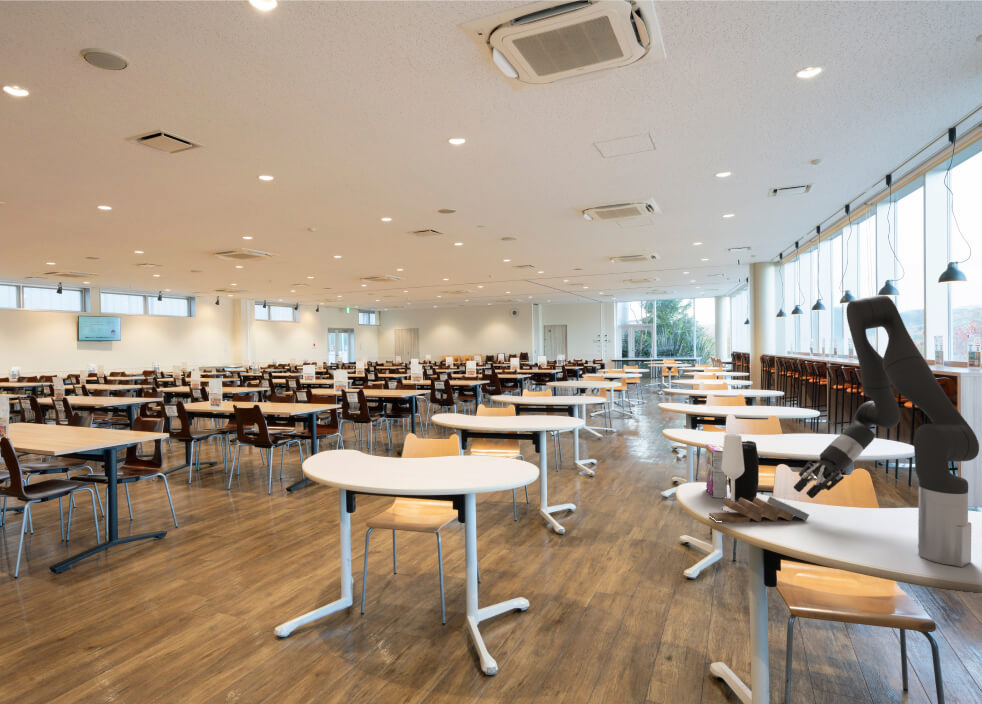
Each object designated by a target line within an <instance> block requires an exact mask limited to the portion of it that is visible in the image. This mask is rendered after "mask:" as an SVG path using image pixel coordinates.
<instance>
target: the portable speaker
mask: <svg viewBox="0 0 982 704" xmlns="http://www.w3.org/2000/svg"><path fill="white" fill-rule="evenodd" d="M742 450H743V460H744V472H743V474H742V475H741V476H740V477H738V478H737V479H735V500H738V501H739V499H740V497H741V498H743V499H746V500H748V501H750V502H753V500H754V498H755V497H757V495H758V489H759V483H760V482H759V478H760V477H759V474H760V473H759V472H760V471H759V470H760V469H759V467H760V466H759V463H760V461H759V454H758V448H757V443H756V442H755V441H752V440H746V441H742ZM727 481H728V486H729V487H728V488H729V493H730V494H731V479H730V478H728V477H727Z"/></svg>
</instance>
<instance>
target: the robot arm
mask: <svg viewBox="0 0 982 704" xmlns="http://www.w3.org/2000/svg"><path fill="white" fill-rule="evenodd" d="M847 303H848V304H847V306H846V320H847V325H848V327H849V332H850V334H851V335H850V336H851V339H852V343H853V346H854V349H855V352H856V356H857V360H858V365H859V370H860V380H861V388H862V393H863V394H864V395H865V396H866V397H868V398H870V399H871V400H869V401H866V402H863V403H862V404H861V405H860V406H859V407H858V409H857V410H856V411H855V414H854V416H853V418H852V420H851V422H850V424H849V426H848V427H847V428H846V429H845V430H844V431H843V432H842V433H841V434H840V435H839V436H837V437H836V438H834V440H833V441H832V442H831V443H830V444H829V445H827V447H826V448H825V449H824V450H823V451H822V452H821V453H820V454H819V460H818V461H816V462H815V463H813V462H812V461H811V460H809V461H807V463H806V464H805V465H804V466H803V468H802V469H801V471H800V472H798V476H799V477H800V479H799V480H798V481H797V483H795V485H794V486H793V489H794V490H795V491H796V492H798V493H801V492H802V491H803V490H804V488H805V487H807V486H808V484H809V483H811V482H813V481H816V482H815V484H813V485H812V486H811V487H810V488H809V489H808V490H807V491H806V495H807V496H808V497H809V498H811V499H814V498H815V497H816V496H817V495H819V493H820V492H821V491H824V490H826V491H830V490H831V489H833V488H834V487H835V486H836V485H838V484H839V483H840V482H842V481H843V480H844V477H845V476H844V475H843V474H842V473H844V472H845V471H846V470H847V469H848V468H850V466H851V465H852V464H853V463H854V462H855V461H856V460H857V459H858V458H859V456H861V454H862V453H863V451H864V450H865V449H866V448H868V446H870V444H871V443H872V442H873V441H874V439H875V437H876V436H875V433H874V431H873V430H872V429H871V426H876V427H880V428H884V429H893V428H895V427H897V426H898V425H899V423H900V421H901V417H902V416H901V415H902V414H901V409H900V406H899V404H898V401H897V399H896V396H895V394H894V392H893V390H892V387H893V388H894V390H895V391H896V392H897V393H899V394H900V395H901V396H902V397H903V398H904V399H906V400H908V401H909V402H910V403H912V404H913V405H914V406H915V407H917V408H919V409H920V410H921V411H922V412H923V413H924V414H925V415H926V416H927V417H928V418H929V419H930V421H931V422H932V423H924V424H922V425H920V426H919V427H918V428H917V429H916V431H915V433H914V438H913V447H914V448H913V449H914V463H915V464H914V467H915V468H914V469H915V473H916V476H917V478H918V518H917V519H918V521H917V522H918V523H917V525H918V533H917V534H918V535H917V536H918V537H917V539H918V540H917V541H918V542H917V543H918V544H917V549H918V550H917V551H918V553H917V554H918V556H920V557H922V558H924V559H926V560H929V561H931V562H935V563H938V564H942V565H943V564H944V565H948V566H949V565H950V566H956V567H958V568H959V567H960V568H963V567H964V566H966V565H967V564H969V563H971V562H972V522H969V482H968V480H967V479H965V478H963V477H961V476H958V475H956V474H953V473H952V472H951V471H950V467H949V466H950V465H949V463H950V462H956V463H957V462H969V461H972V460H974V459H975V458H977V456H978V454H979V452H980V443H979V440H978V438H977V435H976V434H975V431H974V430H973V429H972V427H971V426H970V424H969V423H968V422H967V421H966V419H965V418H964V417H963V416H962V414H961V413H960V412H959V410H958V409H957V407H956V406H955V405H954V404H953V403H952V401H951V400H950V399H949V397H948V395H947V394H946V392H945V391H944V389H943V387H942V385H941V384H940V383H939V381H938V380H937V378H936V376H935V375H934V373H933V371H932V369H931V368H930V366H929V364H928V362H927V361H926V359H925V357H924V356H923V354H922V353H921V352H920V350H919V349H918V347H917V346H916V344H915V341H914V340H913V339H912V337H911V335H910V333H909V332H908V329H907V327H906V326H905V323H904V321H903V319H902V316H901V315H900V314H901V313H900V311H899V310H898V308H897V306H896V304H895V303H894V301H893V300H892V298H891V297H889V296H888V295H885V294H879V295H878V294H877V295H874V296H868V297H859V298H856V299H853V300H850V301H849V302H847ZM875 328H883V329H884V330H885V331H886V335H887V338H888V342H887V345H886V348H885V352H884V355H883V357H882V356H881V355H880V354H879V352H877V350H875V348H874V347H873V346H872V344H871V343H870V340H869V339H868V337H867V330H868V329H875Z"/></svg>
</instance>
